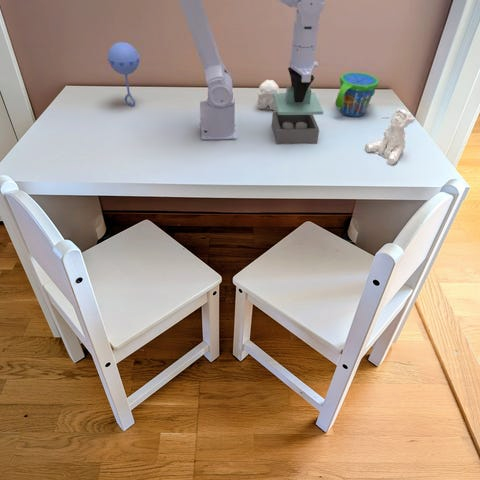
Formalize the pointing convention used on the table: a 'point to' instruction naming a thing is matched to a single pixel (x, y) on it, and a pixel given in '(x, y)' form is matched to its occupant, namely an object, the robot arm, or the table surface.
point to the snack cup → (355, 93)
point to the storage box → (294, 129)
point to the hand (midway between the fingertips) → (297, 99)
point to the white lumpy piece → (267, 94)
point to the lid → (297, 103)
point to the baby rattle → (124, 62)
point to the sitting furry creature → (392, 137)
